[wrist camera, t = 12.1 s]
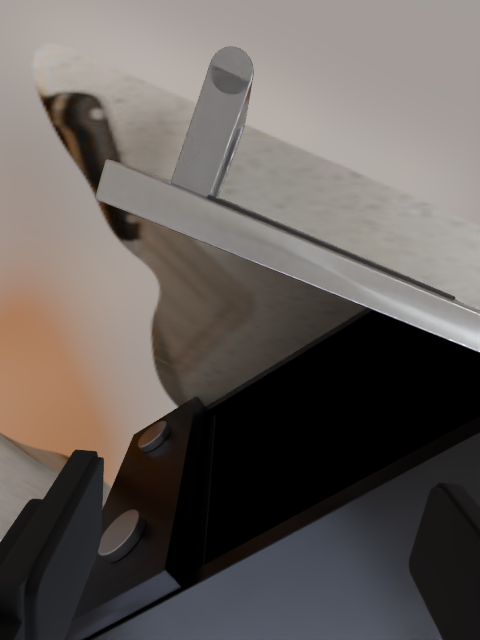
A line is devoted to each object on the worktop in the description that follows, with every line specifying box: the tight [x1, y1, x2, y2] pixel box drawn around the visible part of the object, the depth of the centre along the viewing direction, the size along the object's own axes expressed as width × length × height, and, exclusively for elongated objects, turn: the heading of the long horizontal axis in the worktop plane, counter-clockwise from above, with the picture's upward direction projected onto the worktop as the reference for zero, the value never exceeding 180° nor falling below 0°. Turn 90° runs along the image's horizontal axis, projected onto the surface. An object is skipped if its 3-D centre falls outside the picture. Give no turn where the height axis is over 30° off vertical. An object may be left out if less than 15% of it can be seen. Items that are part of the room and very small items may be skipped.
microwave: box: [64, 308, 480, 640], centre depth 32 cm, size 24×30×20 cm
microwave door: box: [96, 47, 480, 352], centre depth 25 cm, size 8×22×20 cm, turn 68°
